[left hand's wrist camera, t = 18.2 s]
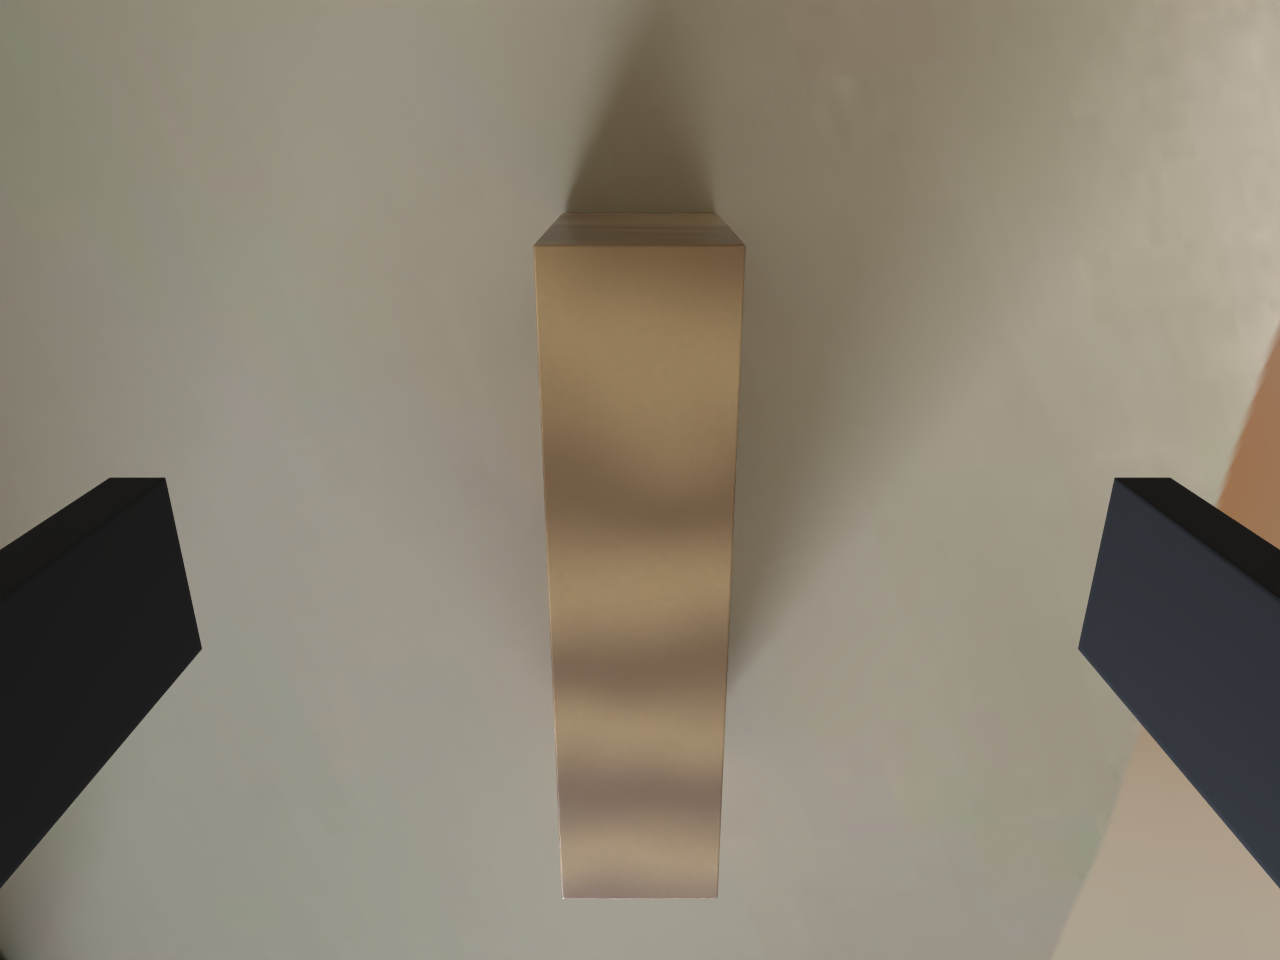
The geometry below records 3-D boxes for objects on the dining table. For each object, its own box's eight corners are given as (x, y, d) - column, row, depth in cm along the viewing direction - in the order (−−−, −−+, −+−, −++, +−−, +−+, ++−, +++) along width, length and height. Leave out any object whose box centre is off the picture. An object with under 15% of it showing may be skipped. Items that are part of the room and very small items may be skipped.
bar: (561, 213, 32) (533, 244, 23) (717, 213, 32) (745, 244, 23) (578, 735, 41) (561, 899, 32) (700, 735, 41) (717, 899, 32)
